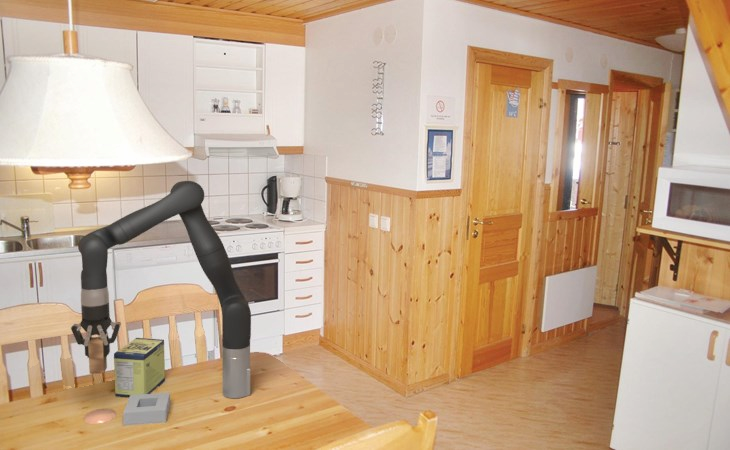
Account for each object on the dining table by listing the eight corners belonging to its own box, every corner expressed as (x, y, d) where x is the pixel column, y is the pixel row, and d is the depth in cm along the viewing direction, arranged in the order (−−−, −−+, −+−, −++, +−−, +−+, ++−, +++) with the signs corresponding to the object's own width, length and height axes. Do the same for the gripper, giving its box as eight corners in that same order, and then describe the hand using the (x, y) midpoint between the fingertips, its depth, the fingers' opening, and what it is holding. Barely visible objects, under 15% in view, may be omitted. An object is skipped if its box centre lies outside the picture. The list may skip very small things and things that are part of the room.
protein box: (165, 380, 202) (164, 338, 200) (144, 400, 187) (143, 355, 184) (137, 378, 203) (136, 337, 201) (114, 398, 188) (112, 353, 185)
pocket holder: (170, 405, 184) (169, 392, 183) (165, 423, 172) (165, 410, 172) (130, 408, 181) (130, 395, 181) (123, 427, 170) (123, 413, 169)
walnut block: (106, 367, 175) (105, 336, 173) (103, 373, 171) (102, 341, 169) (92, 368, 174) (91, 337, 172) (89, 373, 170) (88, 342, 168)
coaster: (118, 409, 180) (118, 407, 180) (112, 423, 171) (112, 421, 171) (88, 412, 178) (87, 409, 178) (80, 426, 169) (80, 423, 169)
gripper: (123, 297, 174) (125, 350, 177) (72, 298, 171) (75, 352, 174) (118, 304, 167) (120, 359, 170) (65, 306, 164) (68, 362, 166)
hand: (97, 356), depth 172 cm, fingers closed on walnut block, 4 cm apart
